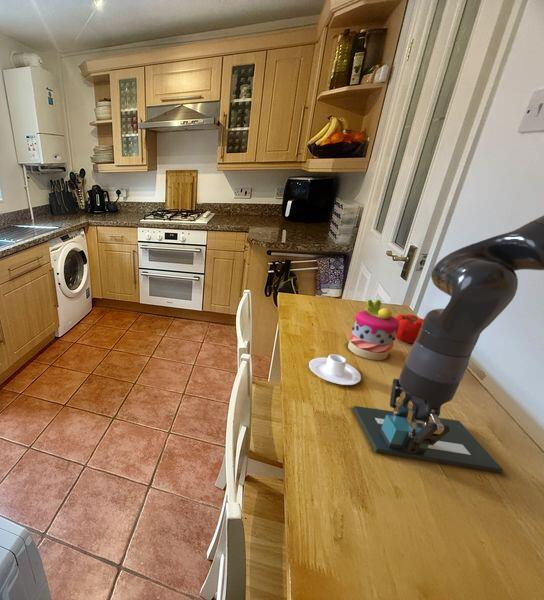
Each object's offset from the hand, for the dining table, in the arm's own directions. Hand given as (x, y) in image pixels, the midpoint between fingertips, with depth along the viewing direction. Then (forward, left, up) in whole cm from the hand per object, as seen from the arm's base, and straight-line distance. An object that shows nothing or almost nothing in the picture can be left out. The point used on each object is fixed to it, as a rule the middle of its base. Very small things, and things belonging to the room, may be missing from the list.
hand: (401, 441), depth 62 cm
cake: (-8, -37, -1) cm, 38 cm away
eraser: (0, 0, 0) cm, 0 cm away
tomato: (-22, -47, -1) cm, 52 cm away
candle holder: (+5, -23, -1) cm, 24 cm away
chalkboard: (-5, -3, -1) cm, 6 cm away
